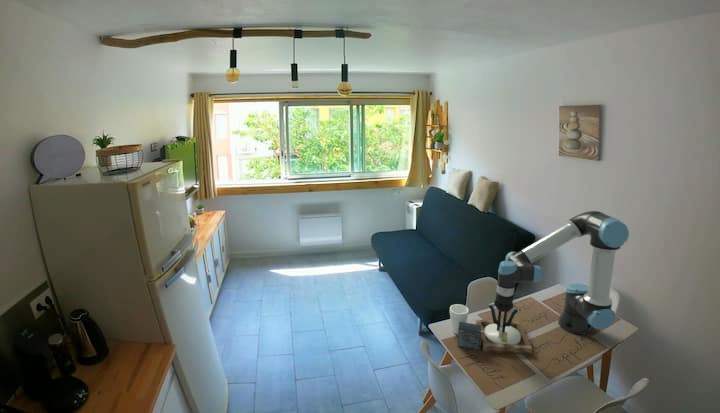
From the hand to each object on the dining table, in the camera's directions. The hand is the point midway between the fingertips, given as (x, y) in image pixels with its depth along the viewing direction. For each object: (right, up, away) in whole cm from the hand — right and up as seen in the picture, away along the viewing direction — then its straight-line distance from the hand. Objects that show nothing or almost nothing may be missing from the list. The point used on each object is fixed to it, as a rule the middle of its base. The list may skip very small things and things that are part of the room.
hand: (500, 336), depth 181 cm
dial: (+3, -2, +6) cm, 7 cm away
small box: (-14, -5, +3) cm, 16 cm away
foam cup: (-17, -2, +14) cm, 22 cm away
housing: (+3, -4, +7) cm, 8 cm away
